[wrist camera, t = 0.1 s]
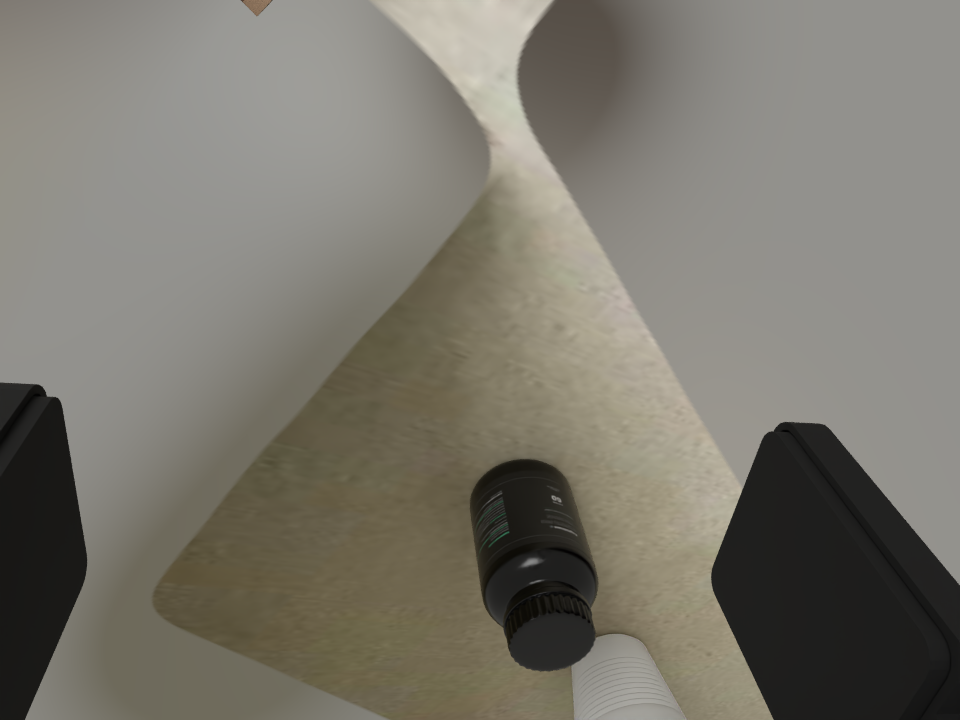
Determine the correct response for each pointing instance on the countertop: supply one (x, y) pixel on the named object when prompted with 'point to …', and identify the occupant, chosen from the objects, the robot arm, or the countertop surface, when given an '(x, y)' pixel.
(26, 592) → the robot arm
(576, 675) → the cup
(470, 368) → the countertop surface
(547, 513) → the supplement bottle
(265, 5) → the wooden u-shaped frame
